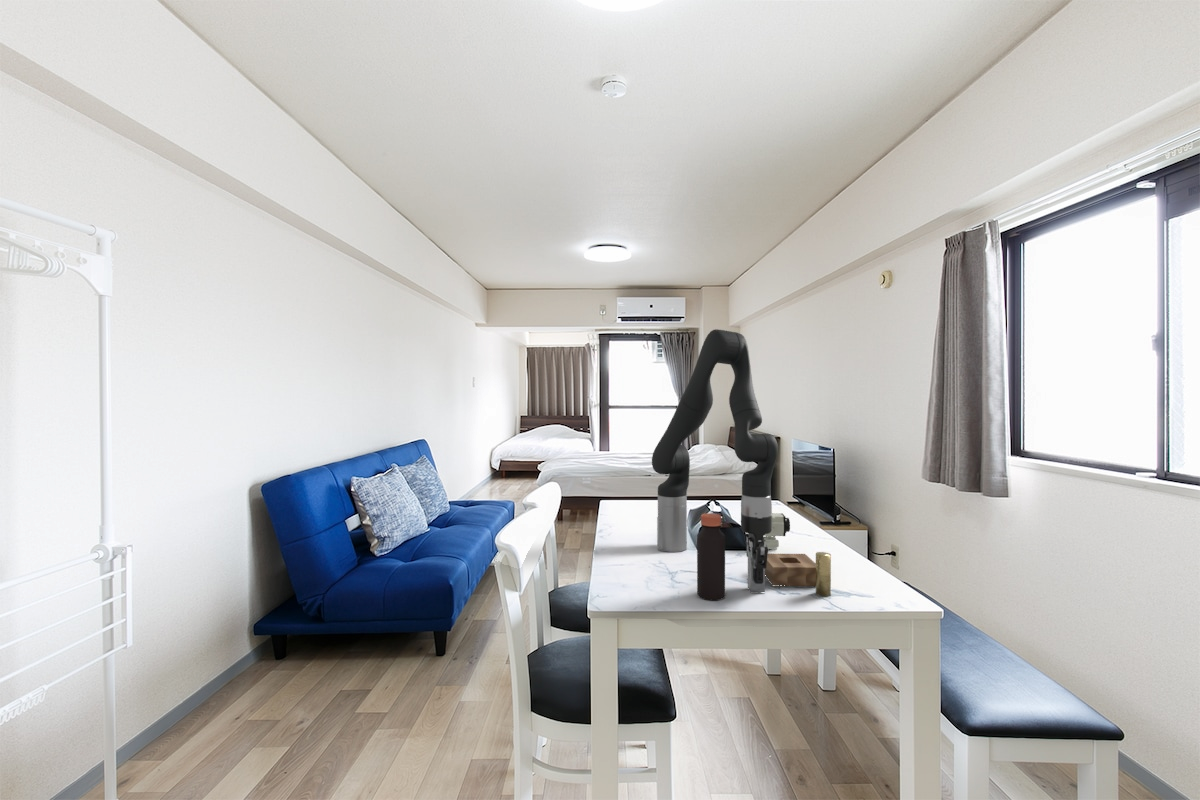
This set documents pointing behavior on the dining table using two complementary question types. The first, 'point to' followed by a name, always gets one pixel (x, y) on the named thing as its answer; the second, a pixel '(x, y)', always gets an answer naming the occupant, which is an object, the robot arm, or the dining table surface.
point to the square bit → (751, 584)
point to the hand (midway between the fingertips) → (756, 579)
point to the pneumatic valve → (777, 530)
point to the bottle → (711, 558)
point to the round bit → (823, 574)
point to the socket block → (790, 570)
